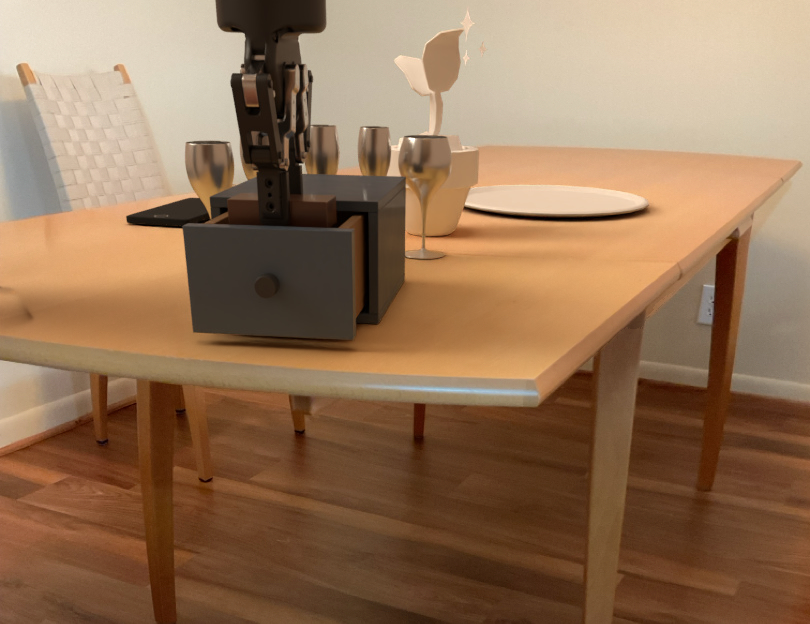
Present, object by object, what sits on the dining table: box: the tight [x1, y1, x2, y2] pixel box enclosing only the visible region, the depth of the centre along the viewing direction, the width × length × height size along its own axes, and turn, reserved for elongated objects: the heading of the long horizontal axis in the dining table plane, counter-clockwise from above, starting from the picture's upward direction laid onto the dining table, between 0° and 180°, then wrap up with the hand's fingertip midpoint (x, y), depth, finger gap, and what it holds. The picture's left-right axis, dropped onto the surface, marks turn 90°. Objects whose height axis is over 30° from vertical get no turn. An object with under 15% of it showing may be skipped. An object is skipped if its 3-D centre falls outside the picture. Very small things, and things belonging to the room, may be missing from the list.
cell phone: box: [125, 197, 210, 228], centre depth 123 cm, size 9×18×1 cm, turn 165°
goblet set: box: [184, 124, 452, 260], centre depth 95 cm, size 28×6×13 cm, turn 111°
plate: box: [464, 184, 650, 219], centre depth 135 cm, size 29×29×1 cm
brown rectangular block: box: [227, 193, 337, 228], centre depth 69 cm, size 4×8×2 cm, turn 82°
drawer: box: [181, 211, 369, 341], centre depth 73 cm, size 17×12×8 cm
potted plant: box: [387, 6, 489, 237], centre depth 109 cm, size 13×12×25 cm
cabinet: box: [210, 173, 406, 325], centre depth 81 cm, size 17×14×10 cm
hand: (282, 219), depth 69 cm, fingers closed on brown rectangular block, 3 cm apart
